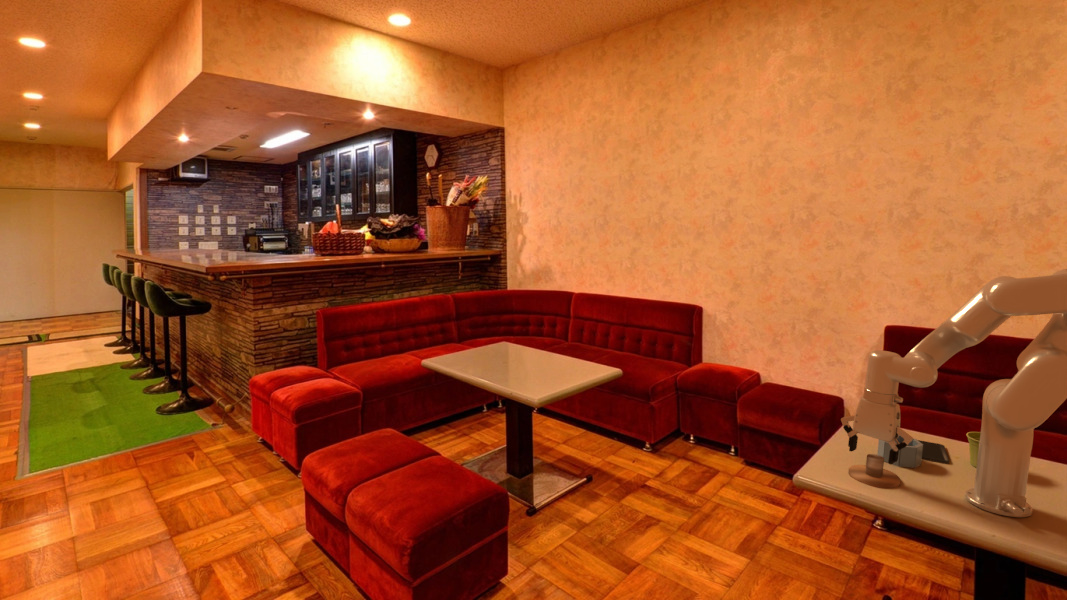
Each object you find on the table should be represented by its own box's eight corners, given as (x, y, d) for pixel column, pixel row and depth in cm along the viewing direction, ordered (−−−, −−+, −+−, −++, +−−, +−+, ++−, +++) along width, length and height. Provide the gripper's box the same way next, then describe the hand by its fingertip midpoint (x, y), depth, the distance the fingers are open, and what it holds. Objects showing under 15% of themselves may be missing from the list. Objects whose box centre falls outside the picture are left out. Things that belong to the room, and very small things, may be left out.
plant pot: (1013, 470, 151) (1016, 441, 150) (992, 476, 148) (996, 446, 146) (975, 457, 160) (979, 430, 158) (955, 462, 156) (958, 434, 155)
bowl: (926, 468, 152) (928, 448, 151) (887, 465, 154) (889, 445, 153) (909, 454, 162) (911, 435, 161) (873, 451, 164) (874, 432, 163)
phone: (943, 444, 167) (949, 462, 155) (943, 448, 168) (949, 465, 155) (913, 439, 172) (916, 455, 159) (913, 442, 172) (916, 459, 159)
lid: (908, 491, 140) (910, 468, 139) (857, 486, 142) (859, 464, 141) (888, 470, 151) (890, 450, 151) (841, 466, 154) (843, 446, 153)
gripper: (922, 403, 140) (913, 464, 142) (851, 385, 153) (843, 442, 156) (912, 409, 135) (903, 472, 138) (839, 390, 148) (832, 448, 151)
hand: (871, 456), depth 147 cm, fingers open, 9 cm apart
